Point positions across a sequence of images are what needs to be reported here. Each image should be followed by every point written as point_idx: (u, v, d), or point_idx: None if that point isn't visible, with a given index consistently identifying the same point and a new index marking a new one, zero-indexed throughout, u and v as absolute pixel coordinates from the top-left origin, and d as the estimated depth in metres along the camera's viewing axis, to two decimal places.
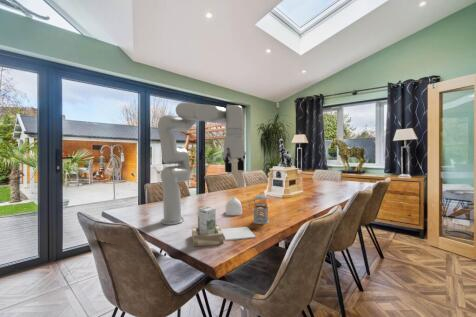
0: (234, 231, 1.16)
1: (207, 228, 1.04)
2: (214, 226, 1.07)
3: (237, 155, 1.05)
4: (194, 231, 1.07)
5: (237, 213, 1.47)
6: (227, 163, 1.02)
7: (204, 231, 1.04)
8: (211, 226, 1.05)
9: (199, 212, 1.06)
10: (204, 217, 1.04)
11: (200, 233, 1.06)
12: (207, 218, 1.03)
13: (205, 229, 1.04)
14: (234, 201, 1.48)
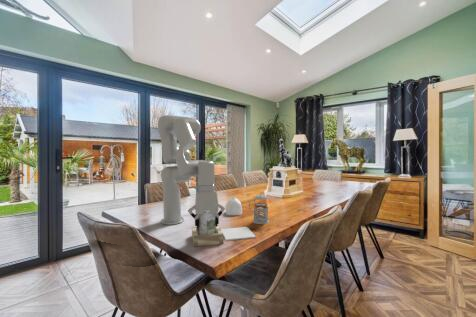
0: (234, 231, 1.16)
1: (207, 228, 1.04)
2: (214, 226, 1.07)
3: None
4: (194, 231, 1.07)
5: (237, 213, 1.47)
6: None
7: (204, 231, 1.04)
8: (211, 226, 1.05)
9: None
10: (204, 217, 1.04)
11: (200, 233, 1.06)
12: (207, 218, 1.03)
13: (205, 229, 1.04)
14: (234, 201, 1.48)
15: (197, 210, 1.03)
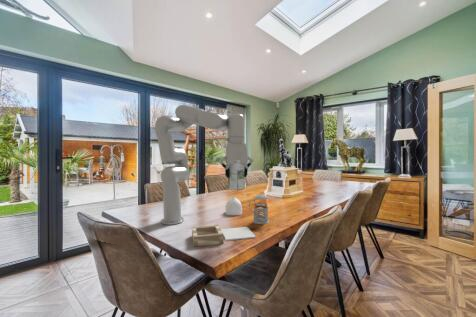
0: (234, 231, 1.16)
1: (238, 177, 1.09)
2: (243, 176, 1.13)
3: None
4: (194, 231, 1.07)
5: (237, 213, 1.47)
6: None
7: (234, 180, 1.10)
8: (240, 176, 1.11)
9: None
10: (235, 166, 1.09)
11: (230, 183, 1.12)
12: (237, 168, 1.09)
13: (236, 178, 1.09)
14: (234, 201, 1.48)
15: (228, 160, 1.09)
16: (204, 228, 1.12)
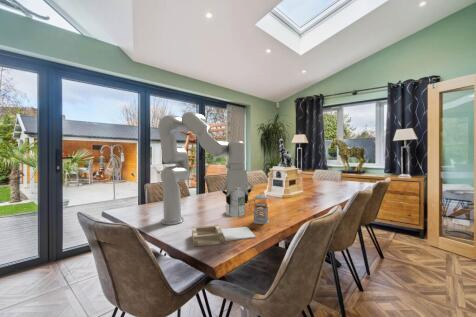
0: (234, 231, 1.16)
1: (238, 204, 1.10)
2: (244, 203, 1.13)
3: None
4: (194, 231, 1.07)
5: None
6: None
7: (235, 207, 1.10)
8: (241, 202, 1.11)
9: None
10: (236, 193, 1.10)
11: (231, 209, 1.12)
12: (238, 195, 1.10)
13: (236, 205, 1.10)
14: None
15: (229, 187, 1.09)
16: (204, 228, 1.12)
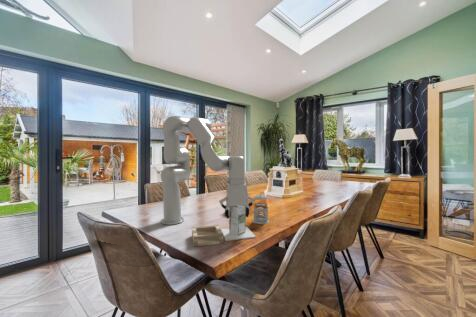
0: None
1: (238, 221, 1.10)
2: (244, 220, 1.14)
3: None
4: (194, 231, 1.07)
5: None
6: None
7: (235, 225, 1.11)
8: (241, 220, 1.12)
9: (230, 207, 1.13)
10: (236, 211, 1.10)
11: (231, 226, 1.13)
12: (238, 213, 1.10)
13: (237, 222, 1.10)
14: None
15: (229, 202, 1.10)
16: (204, 228, 1.12)
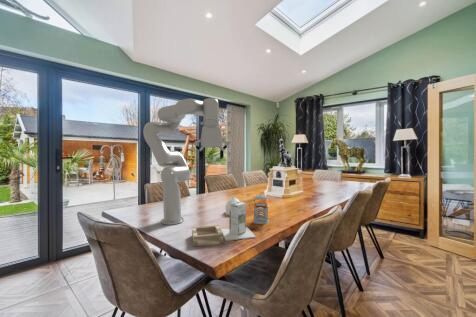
0: None
1: (238, 221, 1.10)
2: (244, 220, 1.14)
3: None
4: (194, 231, 1.07)
5: None
6: None
7: (235, 225, 1.11)
8: (241, 220, 1.12)
9: (230, 207, 1.13)
10: (236, 211, 1.10)
11: (231, 226, 1.13)
12: (238, 213, 1.10)
13: (237, 222, 1.10)
14: (234, 201, 1.48)
15: (203, 142, 1.13)
16: (204, 228, 1.12)
